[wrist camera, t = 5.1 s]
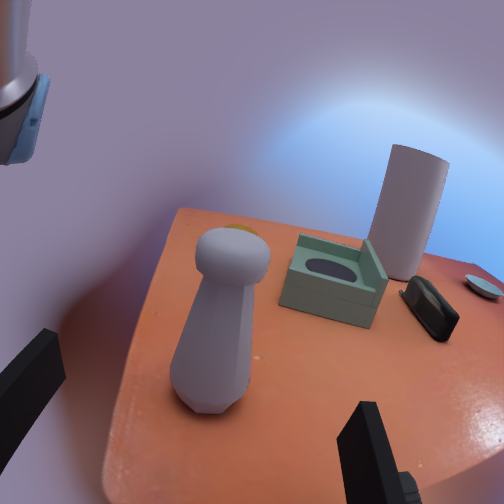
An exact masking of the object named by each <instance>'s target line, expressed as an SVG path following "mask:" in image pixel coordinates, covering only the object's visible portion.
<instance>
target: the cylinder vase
mask: <svg viewBox="0 0 504 504" xmlns="http://www.w3.org/2000/svg"><path fill="white" fill-rule="evenodd" d="M448 169H449V163H448V162H447V161H445V160H443V159H441V158H439V157H436V156H434V155H432V154H429V153H426V152H423V151H420V150H417V149H413V148H410V147H407V146H402V145H395V144H393V145H392V150H391V154H390V158H389V162H388V166H387V170H386V174H385V178H384V182H383V186H382V190H381V193H380V197H379V201H378V204H377V208H376V211H375V215H374V218H373V222H372V225H371V228H370V231H369V235H368V238H367V240H369V241H370V243H371V245H372V247H373V249H374V251H375V253H376V255H377V257H378V258H379V260H380V262H381V264H382V267H383V269H384V271H385V273H386V275H387V277H389V278H392V279H396V280H401V281H409V280H410V279H411V277H413V276H415V275H416V272H417V270H418V267H419V264H420V262H421V259H422V256H423V253H424V250H425V248H426V245H427V242H428V239H429V235H430V233H431V230H432V226H433V223H434V220H435V217H436V213H437V210H438V207H439V203H440V199H441V196H442V192H443V189H444V185H445V181H446V176H447V173H448Z"/></svg>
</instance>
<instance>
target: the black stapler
mask: <svg viewBox="0 0 504 504" xmlns="http://www.w3.org/2000/svg"><path fill="white" fill-rule="evenodd" d="M399 293H400V294H401V296H402V297H403V298H404V299H405V300H406V301H407V303H408V304H409V306H410V307H411V308H412V310H413V311H414V312H415V314H416V315H417V316H418V318H419V319H420V321H421V322H422V324H423V325H424V326H425V328H426V329H427V331H428V332H429V333H430V335H431V336H432V337H434V338H435V339H437V340H440V341H448V340H449V338H450V336H451V334H452V332H453V330H454V328H455V326H456V324H457V322H458V320H459V318H460V317H459V315H458V313H457V312H456V311H455V310H454V309H453V308H452V307H451V306H450V304H449V303H448V302H447V301H446V300H445V299H444V297H443V296H442V295H441V294H440V293H439V292H438V291H437V289H436V288H435V287H434V286H433V284H432V283H431V282H429V281H428V280H426V279H424V278H422V277H420V276H413V277H411V279H410V281H409V283H408V285H407V288H406V291H405V292H403V291H402V290H399Z"/></svg>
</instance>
